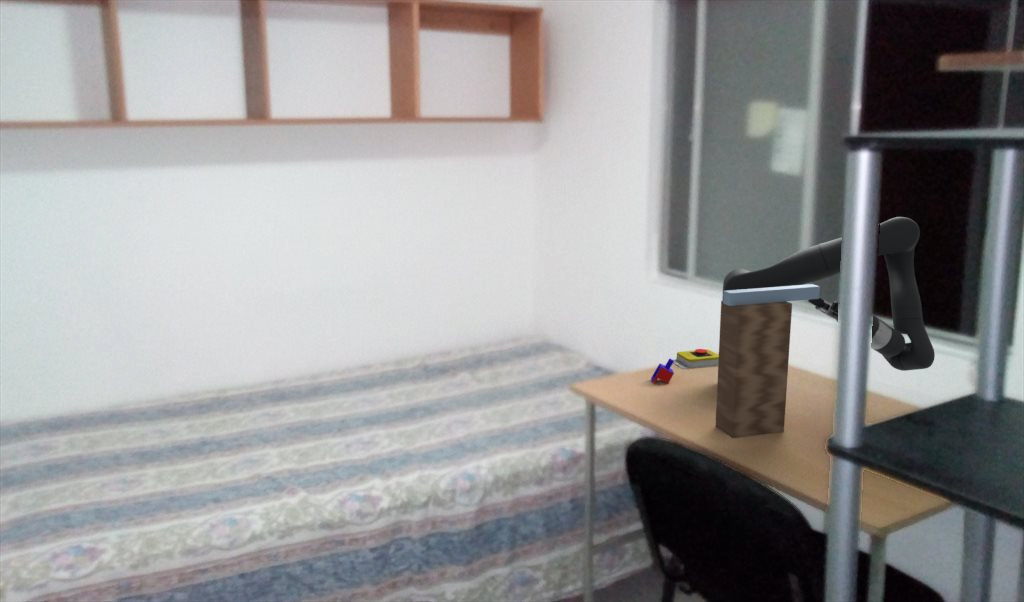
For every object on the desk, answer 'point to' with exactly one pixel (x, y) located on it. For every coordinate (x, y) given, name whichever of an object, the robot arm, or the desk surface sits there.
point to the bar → (771, 294)
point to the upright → (753, 368)
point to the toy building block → (663, 372)
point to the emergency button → (696, 358)
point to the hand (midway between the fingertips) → (821, 301)
